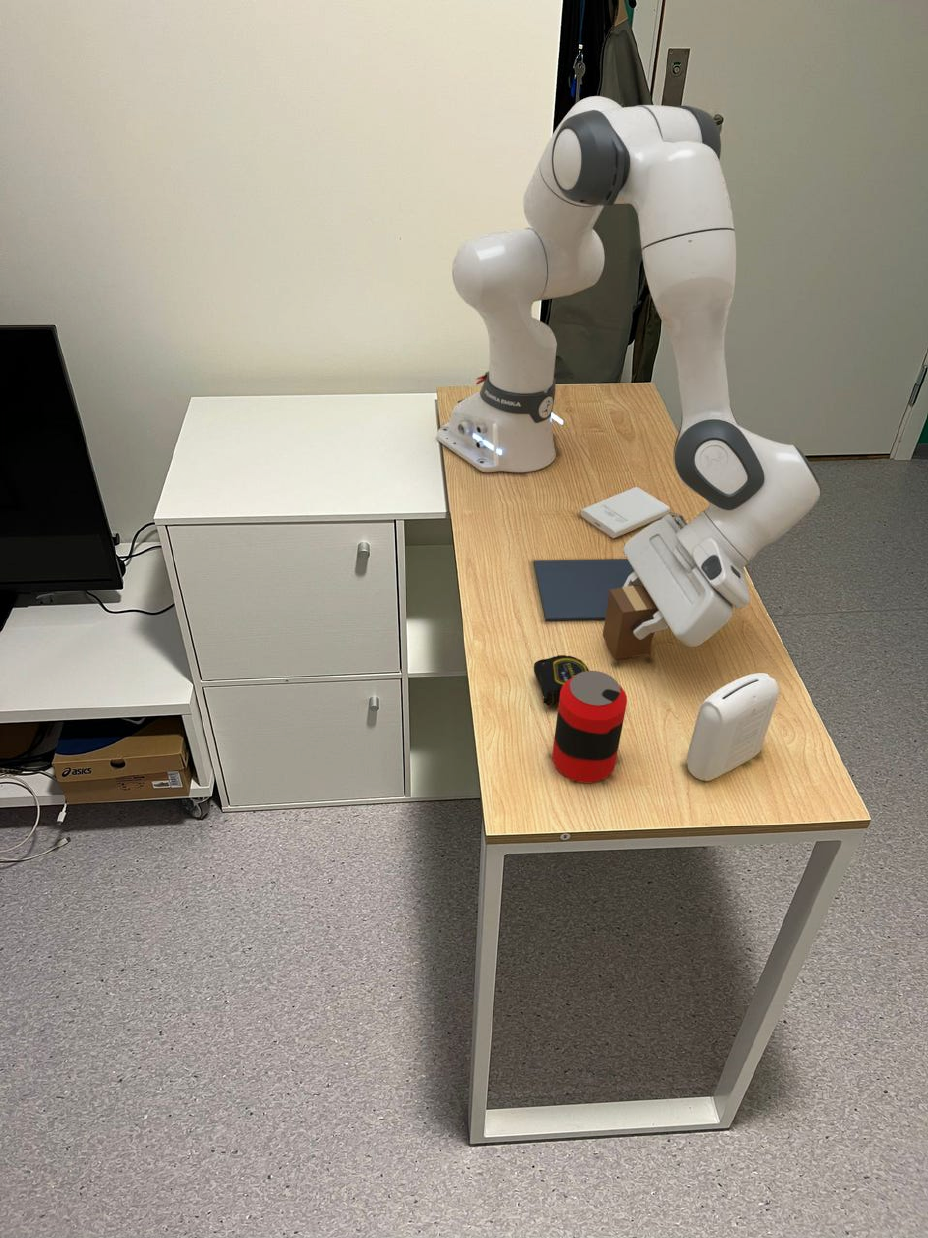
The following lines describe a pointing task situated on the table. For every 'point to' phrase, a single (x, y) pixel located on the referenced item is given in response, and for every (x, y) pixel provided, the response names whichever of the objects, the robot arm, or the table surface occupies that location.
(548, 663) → the tape measure
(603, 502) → the hard drive
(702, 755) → the photo printer
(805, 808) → the table surface
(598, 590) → the desk mat
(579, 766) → the soda can
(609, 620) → the box
